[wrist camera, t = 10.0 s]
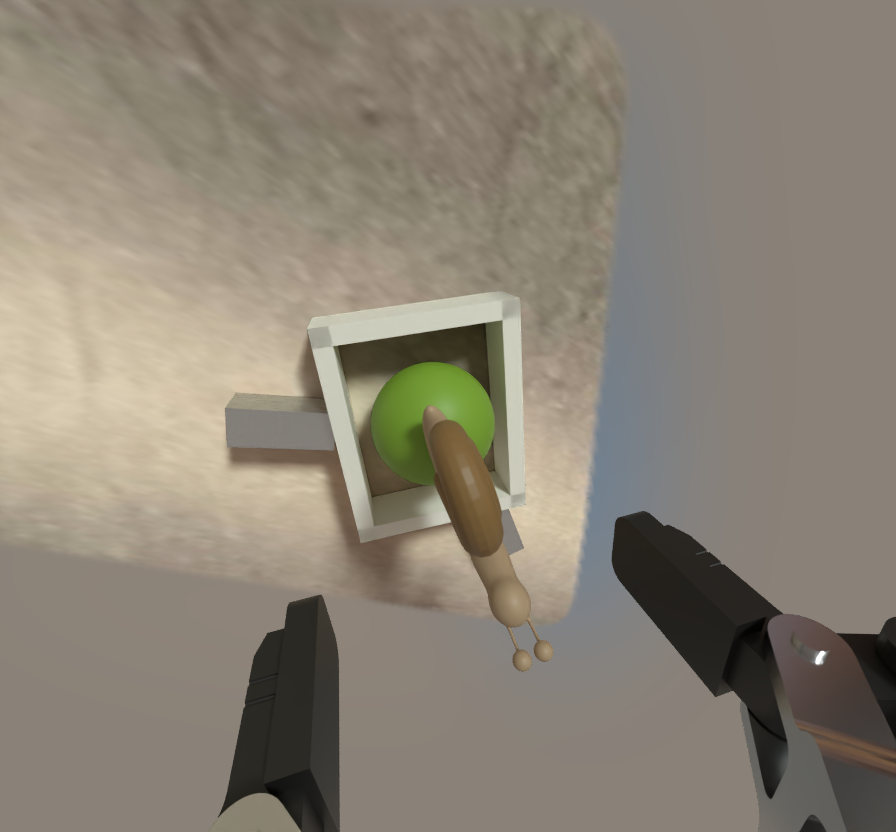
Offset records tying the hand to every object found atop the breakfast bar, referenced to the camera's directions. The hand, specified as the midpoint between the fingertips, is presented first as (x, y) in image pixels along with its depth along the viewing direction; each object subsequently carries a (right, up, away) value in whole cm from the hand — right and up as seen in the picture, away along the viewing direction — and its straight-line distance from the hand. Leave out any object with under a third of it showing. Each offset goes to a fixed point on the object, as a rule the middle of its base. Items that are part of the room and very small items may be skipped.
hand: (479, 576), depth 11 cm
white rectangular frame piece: (-4, +2, +10) cm, 11 cm away
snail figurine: (-2, +5, +10) cm, 11 cm away
